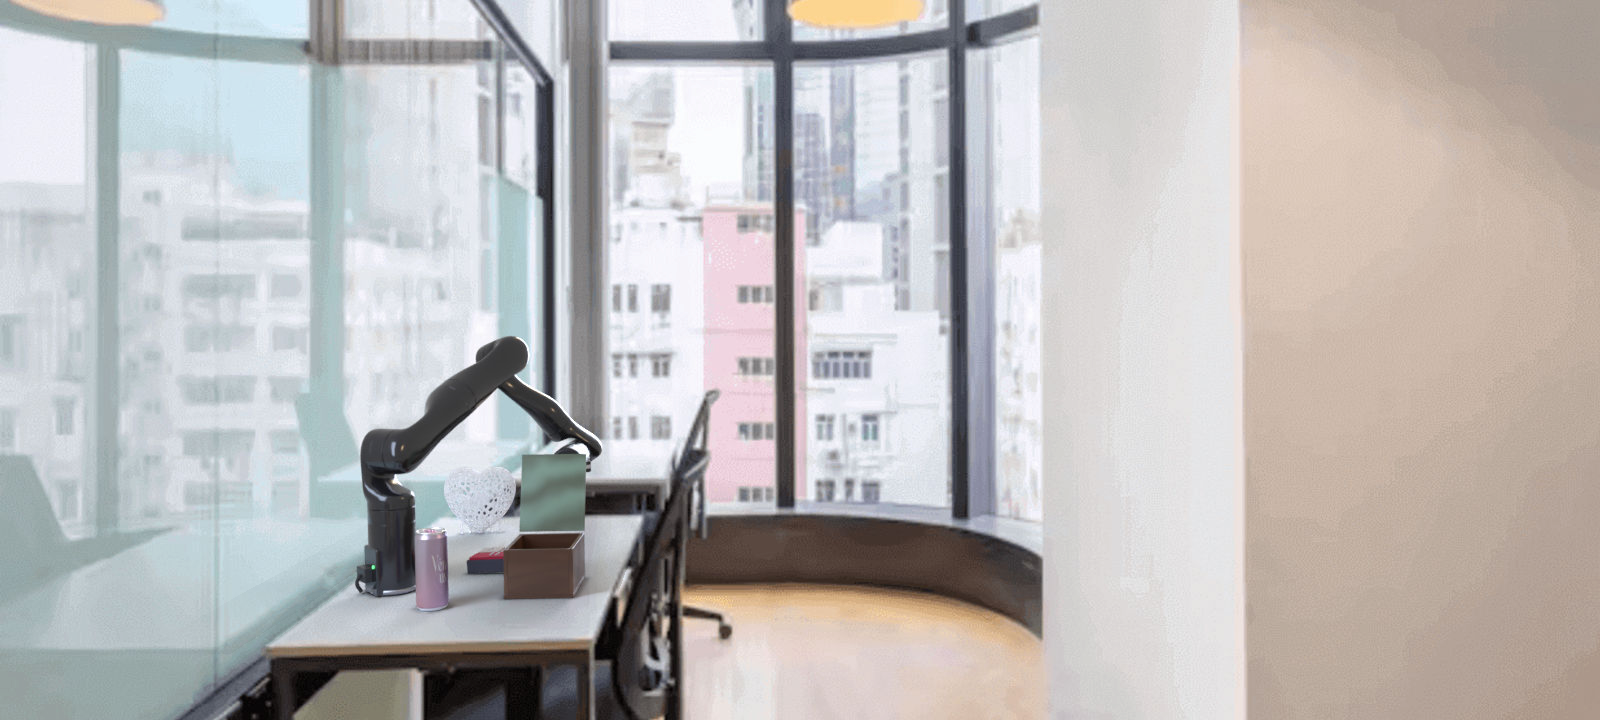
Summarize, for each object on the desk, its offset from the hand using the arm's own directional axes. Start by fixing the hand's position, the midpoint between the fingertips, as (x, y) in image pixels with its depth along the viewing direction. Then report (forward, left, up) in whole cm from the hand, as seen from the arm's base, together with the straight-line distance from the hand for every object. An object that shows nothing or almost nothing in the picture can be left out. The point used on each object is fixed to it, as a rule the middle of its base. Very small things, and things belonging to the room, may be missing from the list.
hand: (556, 472), depth 234 cm
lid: (-3, -4, -3) cm, 6 cm away
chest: (-10, -11, -22) cm, 26 cm away
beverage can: (-33, -8, -22) cm, 40 cm away
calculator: (-7, +10, -22) cm, 25 cm away
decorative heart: (+7, +50, -22) cm, 55 cm away
